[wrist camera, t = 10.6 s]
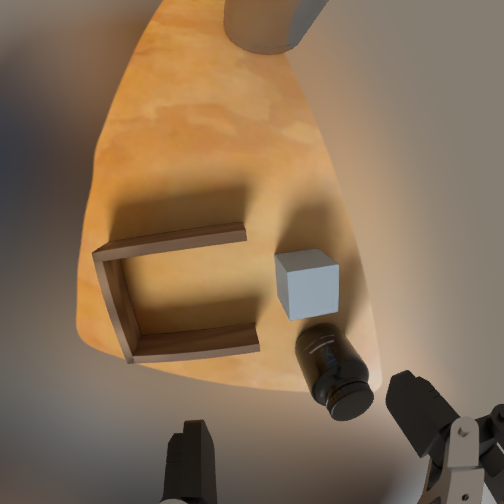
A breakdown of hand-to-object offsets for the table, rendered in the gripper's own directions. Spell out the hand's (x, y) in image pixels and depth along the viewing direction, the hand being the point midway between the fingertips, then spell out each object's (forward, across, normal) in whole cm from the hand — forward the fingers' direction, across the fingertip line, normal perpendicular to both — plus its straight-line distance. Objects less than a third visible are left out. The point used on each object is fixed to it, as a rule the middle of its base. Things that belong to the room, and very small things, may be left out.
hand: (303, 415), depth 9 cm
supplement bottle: (+21, -8, +13) cm, 26 cm away
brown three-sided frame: (+21, +8, +2) cm, 23 cm away
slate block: (+21, -5, +2) cm, 22 cm away
